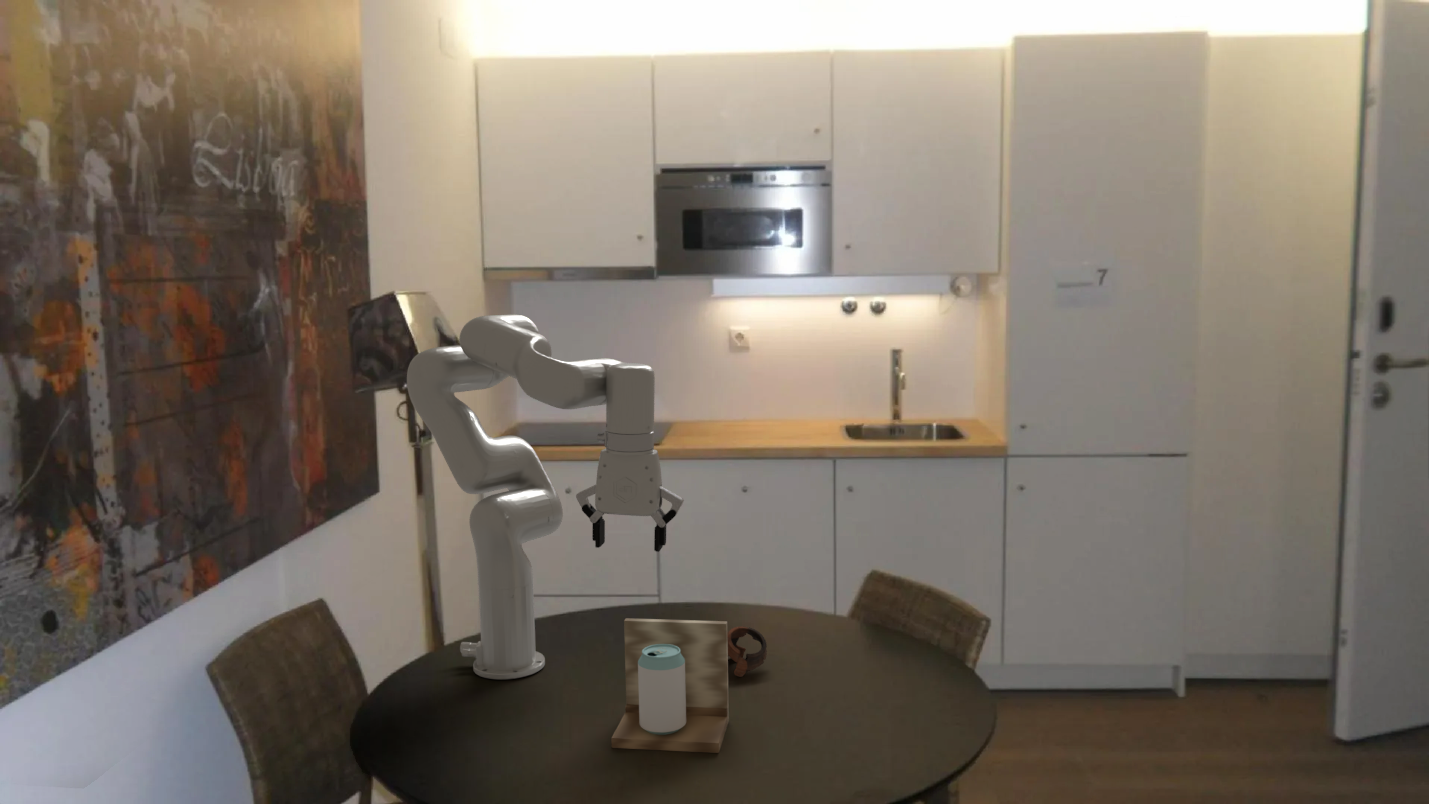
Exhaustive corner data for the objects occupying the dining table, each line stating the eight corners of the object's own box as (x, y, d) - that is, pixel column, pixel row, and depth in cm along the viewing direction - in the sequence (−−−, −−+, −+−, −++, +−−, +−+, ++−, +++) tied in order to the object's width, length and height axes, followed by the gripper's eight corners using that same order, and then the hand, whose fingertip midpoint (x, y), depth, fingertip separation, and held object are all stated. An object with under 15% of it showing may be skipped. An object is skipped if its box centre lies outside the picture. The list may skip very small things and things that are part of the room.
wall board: (611, 747, 154) (608, 642, 152) (628, 716, 165) (625, 618, 163) (718, 752, 152) (717, 646, 150) (728, 720, 163) (727, 621, 161)
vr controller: (757, 657, 191) (770, 626, 187) (758, 697, 183) (772, 665, 179) (693, 644, 190) (705, 612, 185) (692, 684, 182) (704, 652, 178)
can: (676, 739, 153) (674, 660, 152) (632, 733, 155) (630, 655, 154) (692, 719, 160) (691, 644, 158) (650, 714, 162) (648, 639, 160)
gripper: (569, 443, 162) (570, 550, 165) (679, 449, 159) (677, 557, 162) (583, 435, 169) (583, 537, 172) (688, 440, 167) (686, 544, 169)
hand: (629, 547), depth 167 cm, fingers open, 9 cm apart
